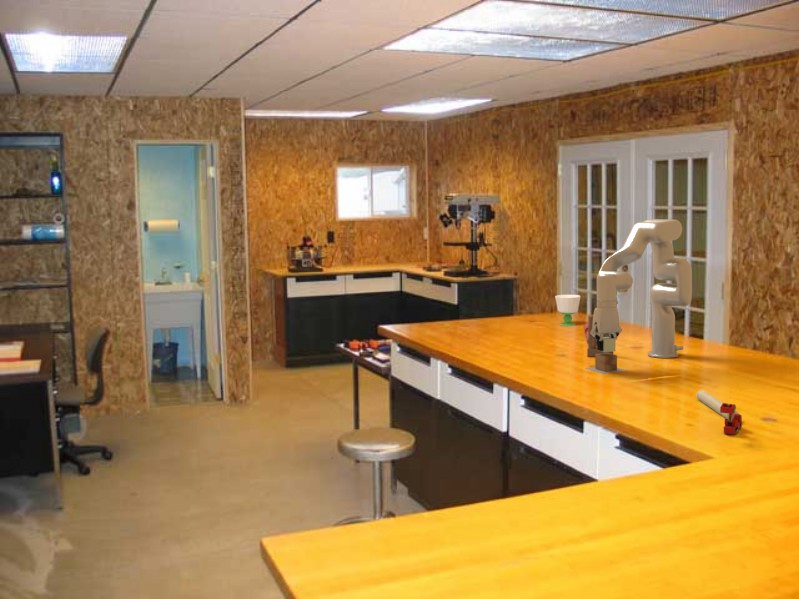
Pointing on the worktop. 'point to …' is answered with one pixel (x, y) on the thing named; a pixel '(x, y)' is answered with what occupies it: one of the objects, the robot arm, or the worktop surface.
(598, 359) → the walnut block
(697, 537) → the worktop surface
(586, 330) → the artery
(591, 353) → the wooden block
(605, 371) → the build pad
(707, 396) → the paper tube
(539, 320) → the worktop surface
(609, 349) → the cream cube
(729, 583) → the worktop surface
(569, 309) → the cup
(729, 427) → the red clamp
